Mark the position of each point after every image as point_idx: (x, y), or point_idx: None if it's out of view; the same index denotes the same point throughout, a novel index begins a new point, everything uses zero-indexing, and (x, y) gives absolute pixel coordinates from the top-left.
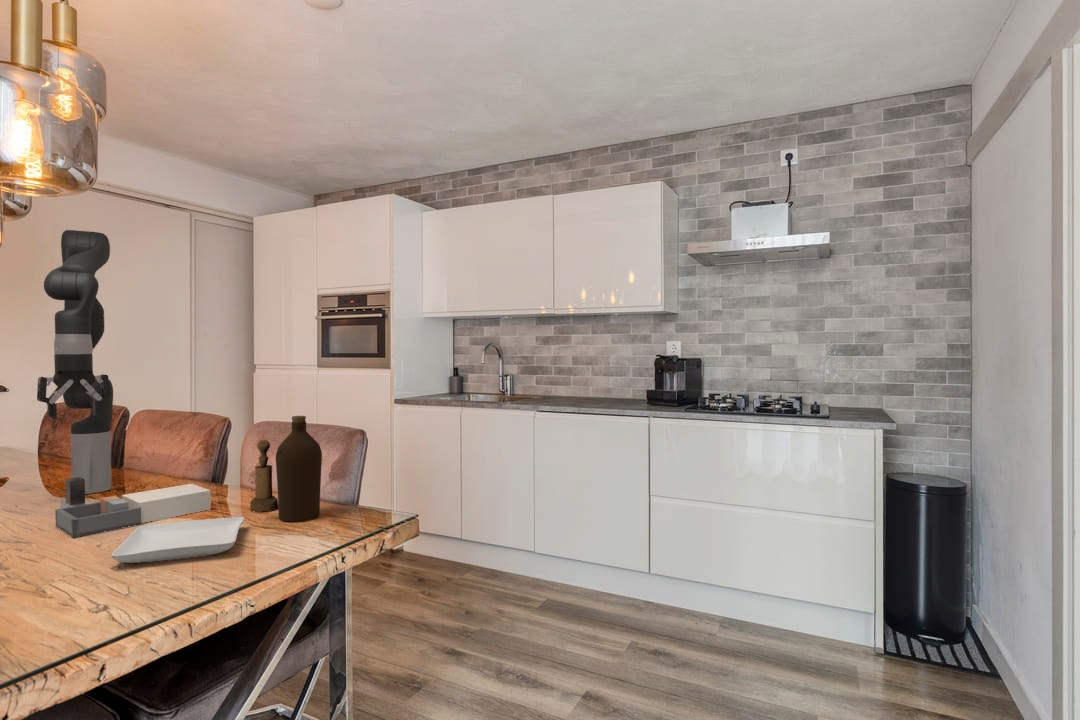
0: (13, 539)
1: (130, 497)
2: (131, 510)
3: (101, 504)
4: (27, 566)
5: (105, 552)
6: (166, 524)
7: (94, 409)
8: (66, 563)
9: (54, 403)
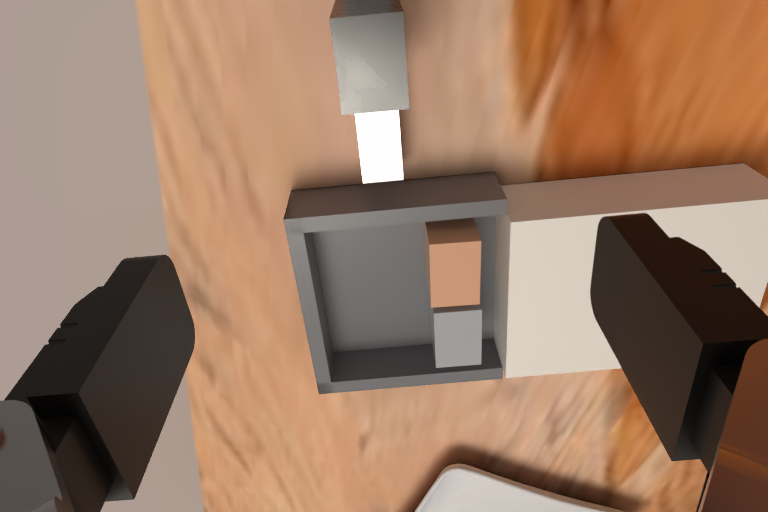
0: (182, 263)
1: (516, 284)
2: (474, 378)
3: (427, 245)
4: (230, 481)
5: (364, 487)
6: (502, 484)
7: (621, 327)
8: (294, 503)
9: (101, 495)
